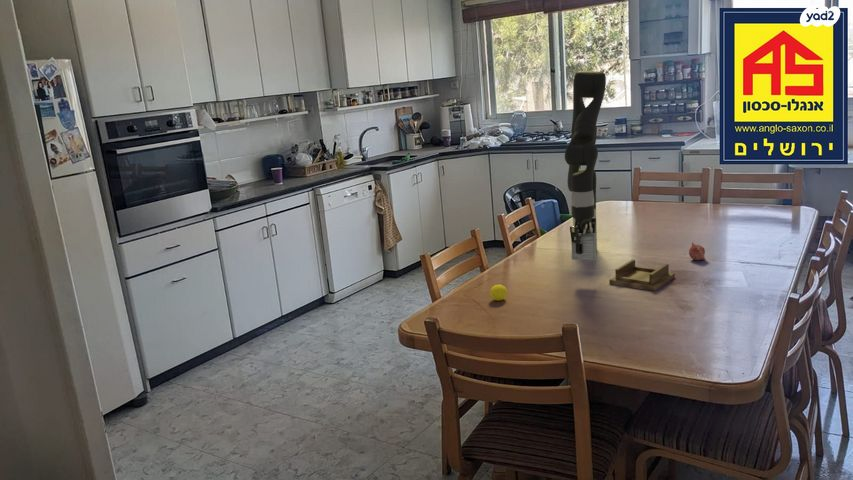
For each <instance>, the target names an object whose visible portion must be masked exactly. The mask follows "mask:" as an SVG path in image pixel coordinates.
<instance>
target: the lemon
mask: <svg viewBox="0 0 853 480" xmlns="http://www.w3.org/2000/svg"><path fill="white" fill-rule="evenodd" d="M507 293H508V291H507V288H506V286H504V285H502V284H495V285H493V286H492V287H491V289H490V291H489V295H490V297H491V298H492V300H494V301H497V302H499V301H503V300H504V299H505V298H506V297H507V295H508V294H507Z"/></svg>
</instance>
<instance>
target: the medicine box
mask: <svg viewBox="0 0 853 480" xmlns="http://www.w3.org/2000/svg"><path fill="white" fill-rule="evenodd" d="M579 234H582V233H579ZM574 239H575V237H574ZM579 240H580V237H579ZM570 242H571V241H570ZM582 245H583V253H582V254H577V253H576V244H575V243H572V242H571V260H573V261H575V260H577V261H595V260H596V258H597V250H596V233H585V237H583V241H582Z"/></svg>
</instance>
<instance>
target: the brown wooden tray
mask: <svg viewBox="0 0 853 480" xmlns="http://www.w3.org/2000/svg"><path fill="white" fill-rule="evenodd" d="M669 267H670V266H669V263H664V264H663V265H661V266H660V267H658V268H653V267H645V266H637V265H636V259H631V260H628V261H627V262H625V263H624V264H623V265H620V266H618V267H616V268H615V269H614V270H615V276H614V277H612V278H609V285H613V286H614V285H615V286H620V287H627V288H634V289H639V290H645V291H646V290H647V291H653V292H656V291H657V290H658V289H660V288H662V287H663V286H665V285H666V284H668V283H669V282H670V281H671V280H673V279H674V278H675V276H676V273H675V272H670V271H669V269H670V268H669Z"/></svg>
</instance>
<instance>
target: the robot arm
mask: <svg viewBox="0 0 853 480" xmlns="http://www.w3.org/2000/svg"><path fill="white" fill-rule="evenodd" d="M606 84H607V76H606V73H604V72H603V71H599V70H598V71H597V70H579V71H576V72H575V74H574V76H573V84H572V95H573V96H572V97H573V98H572V102H573V103H572V107H573V108H572V123H571V132H570V134H571V135H570V141H569V143H568V145H567V146H566V149H565V151H564V160H565V163H566V164H568V173H567V188H568V191H570V192H571V195H570V202H571V203H570V207H571V217H572V225H570V227H569V232H570V233H569V234H570V242H572V243H575V244H576V253H577V254H582V253H583V245H582V241H583V237H585V233H596V251H597V250H598V234H597V233H598V231H597V228H598V227H597V223H598V222H597V174H596V171H595V167H596V164H597V159H598V155H599V151H598V147H597V146H596V143H597V135H598V134H597V133H598V127H597V122H598V118H599V114H600V110H601V107H602V104H603V100H604V96H605V92H606V86H607V85H606ZM584 98H587V99H592V100H591V101H590V103H589V104H588V105H587V106H586V105H585V101H584ZM581 166H586V168H584V167H583V168H580V167H581ZM579 233H582V234H579ZM574 237H575V239H574ZM579 237H580V240H579Z"/></svg>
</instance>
